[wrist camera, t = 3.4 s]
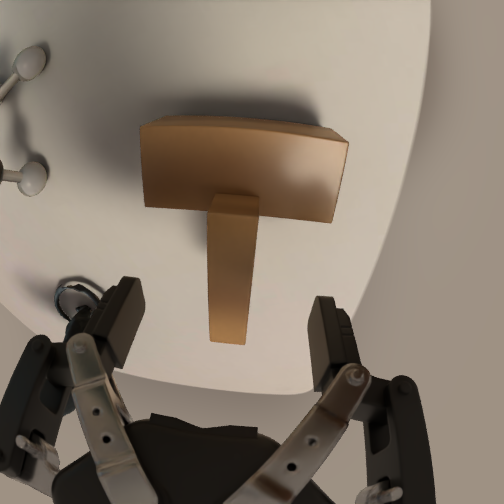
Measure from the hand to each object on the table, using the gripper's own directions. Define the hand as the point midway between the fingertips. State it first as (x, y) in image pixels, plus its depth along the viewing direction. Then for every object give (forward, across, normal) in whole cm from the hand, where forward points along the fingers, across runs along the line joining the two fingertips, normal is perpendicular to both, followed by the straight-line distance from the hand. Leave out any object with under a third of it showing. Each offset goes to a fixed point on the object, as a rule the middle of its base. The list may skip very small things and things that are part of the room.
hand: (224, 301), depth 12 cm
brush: (+8, 0, -2) cm, 8 cm away
